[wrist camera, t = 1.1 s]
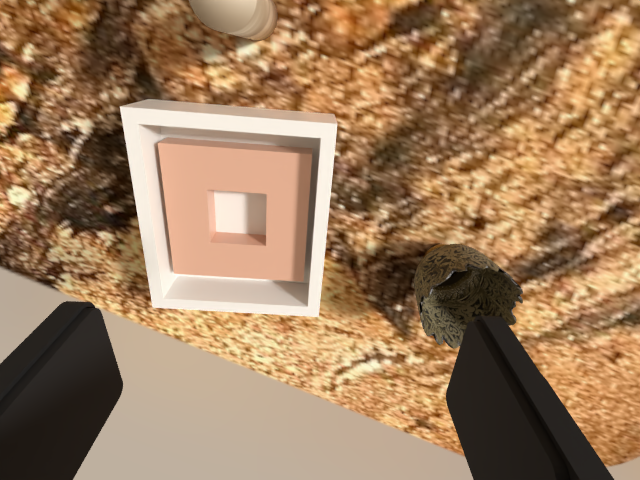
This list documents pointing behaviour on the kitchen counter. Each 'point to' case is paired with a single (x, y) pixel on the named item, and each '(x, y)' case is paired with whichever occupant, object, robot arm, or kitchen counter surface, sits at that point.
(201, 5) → the birch peg
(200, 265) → the bored plate
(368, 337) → the kitchen counter surface
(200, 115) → the open-top box
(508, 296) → the cup
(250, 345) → the kitchen counter surface
